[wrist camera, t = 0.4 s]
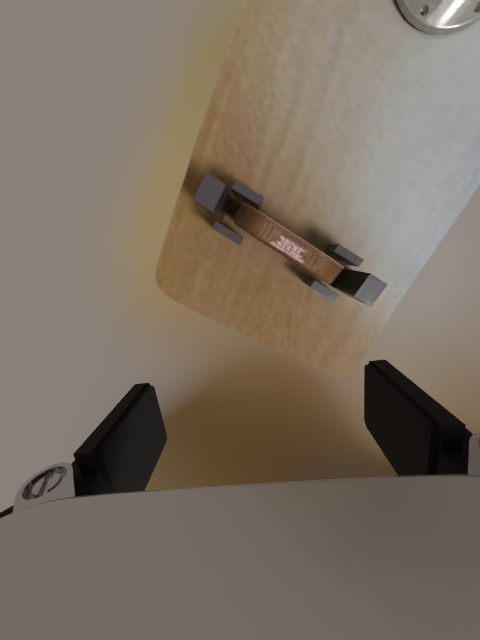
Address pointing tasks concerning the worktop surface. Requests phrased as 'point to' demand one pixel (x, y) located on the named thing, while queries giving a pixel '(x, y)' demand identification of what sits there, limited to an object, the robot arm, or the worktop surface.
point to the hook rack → (349, 282)
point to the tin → (287, 243)
